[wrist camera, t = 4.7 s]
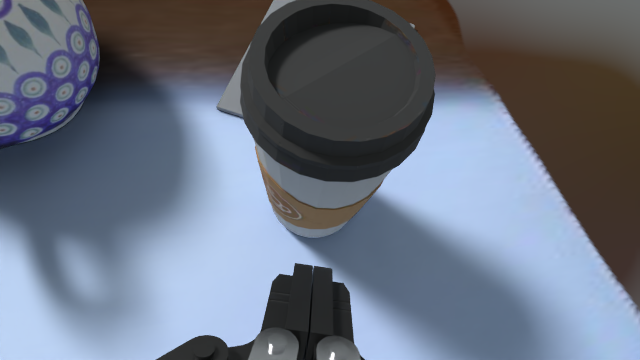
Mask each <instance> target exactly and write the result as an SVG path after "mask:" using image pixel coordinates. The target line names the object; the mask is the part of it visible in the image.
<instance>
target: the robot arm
mask: <svg viewBox="0 0 640 360" xmlns="http://www.w3.org/2000/svg"><path fill="white" fill-rule="evenodd" d="M312 271H313V273H312ZM156 360H365V359H364V358H362V357H361V355H360V354H359V351H358V349H357V347H356V346H355V345H354V338H353V327H352V315H351V304H350V293H349V291H348V290H347V288H346V286H345V285H344V283H338V282H332V269H331V268H325V267H318V266H314V268H313V266H311V265H304V264H297V263H295V266H294V273H293V276H290V275H283V274H279V275H278V276H277V277H276V278H275V279H274V281H273V282H272V286H271V290H270V295H269V299H268V303H267V307H266V312H265V316H264V320H263V324H262V329H261V332H260V333H259V334H258V336H257V337H256V338H255V339H254V340H253V341H251V342H250V343H248V344H245V345H241V346H236V347H227V345H226V343H225V342H224V341H223V340H222V339H220V338H218V337H215V336H211V335H204V336H198V337H195V338H193V339H191V340H189V341H187V342H186V343H184V344H182V345H181V346H179V347H177V348H175V349H174V350H172V351H170V352H168V353H167V354H165V355H163V356H161V357H160V358H158V359H156Z"/></svg>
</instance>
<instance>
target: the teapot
mask: <svg viewBox="0 0 640 360" xmlns="http://www.w3.org/2000/svg"><path fill="white" fill-rule="evenodd" d="M99 60H100V55H99V43H98V40H97V36H96V33H95V30H94V27H93V24H92V21H91V17H90V14H89V12H88V10H87V8H86V6H85V4H84V2H83V0H0V149H3V148H6V147H9V146H12V145H15V144H19V143H23V142H28V141H32V140H35V139H38V138H40V137H43V136H46V135H48V134H50V133H52V132H54V131H56V130H58V129H60V128H61V127H63V126H64V125H66V124H67V123H68V122H69V121H70V120H71V119H72V118H73V117H74V116H75V115H76V113H77V112H78V111H79V110H80V108H81V106H82V104H83V102H84V100H85V99H86V97H87V96H88V94H89V92H90V90H91V89H92V87H93V85H94V83H95V80H96V77H97V73H98V70H99Z"/></svg>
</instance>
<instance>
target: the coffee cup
mask: <svg viewBox="0 0 640 360" xmlns="http://www.w3.org/2000/svg"><path fill="white" fill-rule="evenodd" d="M434 82H435V70H434V64H433V59H432V55H431V53H430V51H429V49H428V47H427V45H426V44H425V42H424V40H423V38H422V37H421V36H420V35H419V34H418V32H417V31H416V30H415V29H414V28H413V27H412V26H411V24H410V23H408V22H407V21H406V20H404V19H403V18H402V17H400V16H399V15H398V14H396V13H395V12H393V11H392V10H390V9H388V8H386V7H384V6H381V5H379V4H377V3H375V2H373V1H369V0H295V1H292V2H289V3H287V4H285V5H284V6H282V7H281V8H279V9H277V10H276V11H274V12H273V13H271V14H270V15H269V16H268V17H267V18H266V19H265V21H264V22H263V23H262V24H261V25H260V26H259V27H258V29H257V31H256V33H255V35H254V38H253V40H252V42H251V44H250V48H249V50H248V52H247V54H246V56H245V59H244V61H243V63H242V72H241V82H240V89H241V96H240V105H241V109H242V113H243V117H244V122H245V124H246V126H247V128H248V129H249V131H250V133H251V135H252V136H253V138H254V141H255V145H256V146H255V150H256V154H257V158H258V162H259V166H260V170H261V173H262V177H263V180H264V184H265V187H266V191H267V195H268V198H269V201H270V203H271V205H272V208H273V212H274V213H275V215H276V217H277V218H278V220H279V221H280V222H281V223H282V224H283V225H284V226H285V227H286V228H287V229H288V230H290V231H292V232H293V233H295V234H297V235H300V236H304V237H308V238H320V237H324V236H328V235H331V234H333V233H335V232H337V231H338V230H340V229H341V228H342V227H343V226H344V225H345V224H346V223H347V222H348V221H349V220H350V219H351V218H352V217H353V216H354V215H355V214H356V213H357V212H358V211H359V210H360V209H361V208H362V207H363V205H364V204H365V203H366V202H367V201H368V200H369V199H370V197H371V196H372V195H373V194H374V193H375V192H376V190H377V189H378V188H379V187H380V186H381V184H382V182H383V180H384V178H385V177H386V176H387V175H388V174H389V172H390V171H391V170H392V169H393V168H395V167H397V166H399V165H400V164H401V163H402V162H403V161H404V160H405V159H406V158H407V157H408V156H409V155H410V154H411V153H412V152H413V151H414V150H415V149H416V147H417V145H418V143H419V141H420V139H421V137H422V135H423V133H424V131H425V127H426V125H427V123H428V121H429V119H430V117H431V115H432V110H433V103H434V96H435V93H434Z"/></svg>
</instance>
